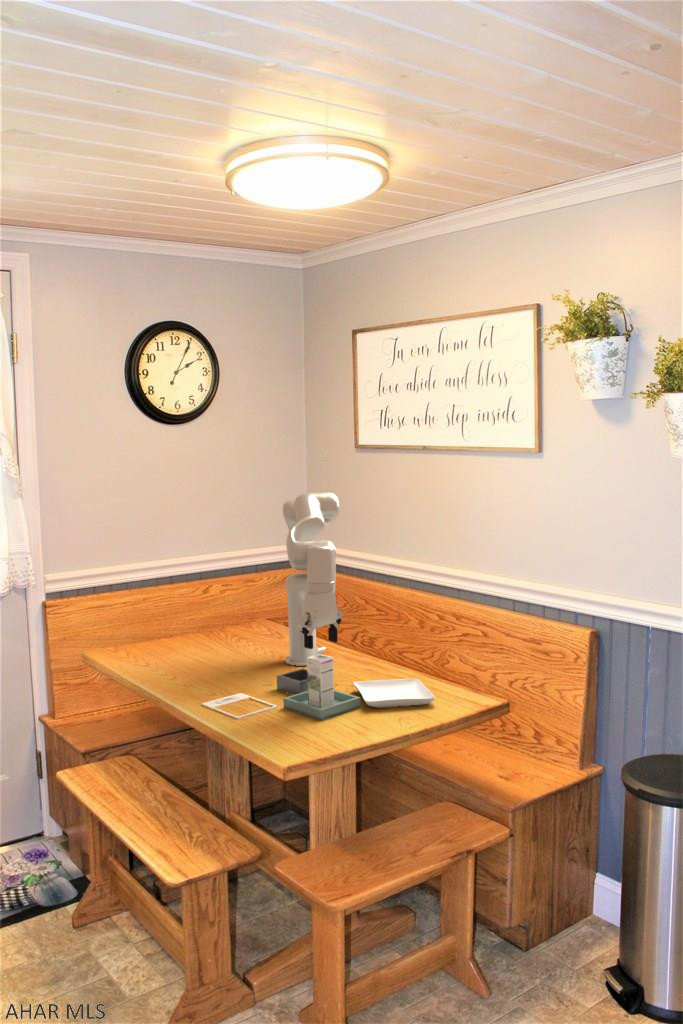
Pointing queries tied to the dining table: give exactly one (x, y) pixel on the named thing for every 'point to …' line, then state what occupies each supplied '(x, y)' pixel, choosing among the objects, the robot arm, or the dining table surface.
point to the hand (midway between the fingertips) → (320, 644)
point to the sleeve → (293, 681)
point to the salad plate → (394, 692)
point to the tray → (341, 705)
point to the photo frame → (233, 699)
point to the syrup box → (320, 681)
